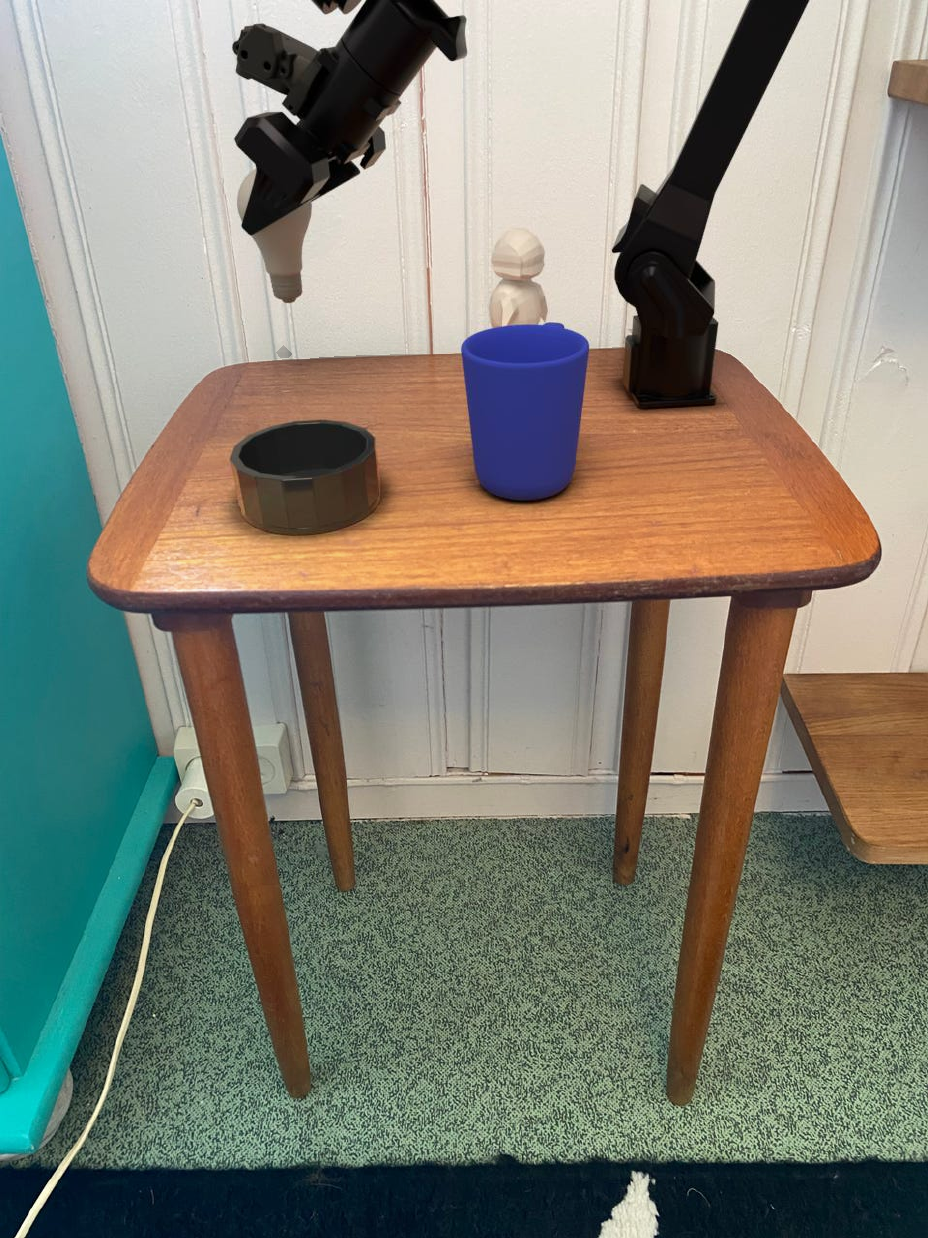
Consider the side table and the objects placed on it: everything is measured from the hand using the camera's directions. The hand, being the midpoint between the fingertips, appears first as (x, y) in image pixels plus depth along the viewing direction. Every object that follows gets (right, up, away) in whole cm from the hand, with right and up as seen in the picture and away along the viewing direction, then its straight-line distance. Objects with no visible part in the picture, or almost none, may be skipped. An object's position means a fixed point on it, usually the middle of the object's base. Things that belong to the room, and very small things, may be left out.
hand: (262, 222), depth 77 cm
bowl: (+6, -25, -14) cm, 30 cm away
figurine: (+22, -10, +7) cm, 25 cm away
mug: (+22, -23, -11) cm, 34 cm away
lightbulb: (+2, -6, +3) cm, 7 cm away
